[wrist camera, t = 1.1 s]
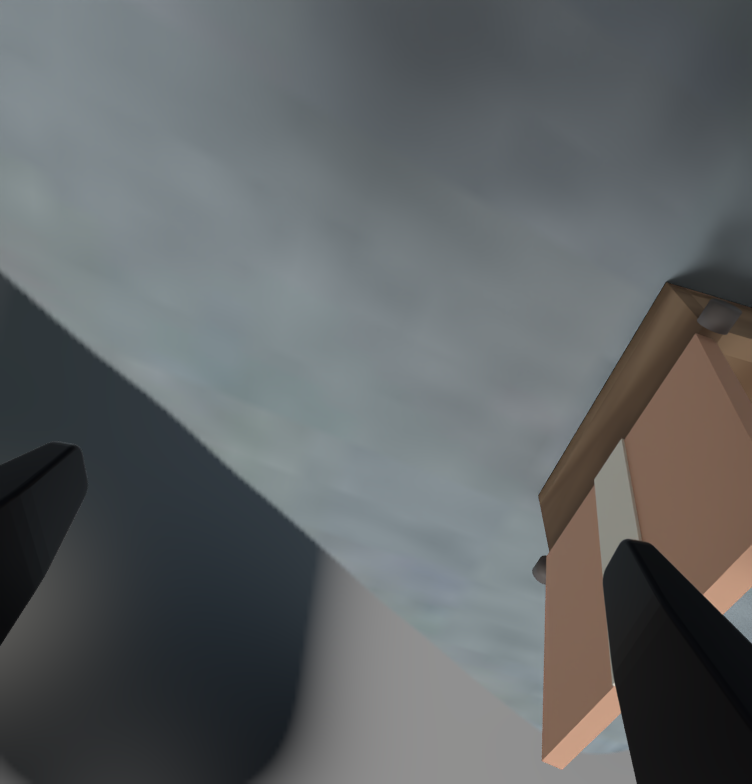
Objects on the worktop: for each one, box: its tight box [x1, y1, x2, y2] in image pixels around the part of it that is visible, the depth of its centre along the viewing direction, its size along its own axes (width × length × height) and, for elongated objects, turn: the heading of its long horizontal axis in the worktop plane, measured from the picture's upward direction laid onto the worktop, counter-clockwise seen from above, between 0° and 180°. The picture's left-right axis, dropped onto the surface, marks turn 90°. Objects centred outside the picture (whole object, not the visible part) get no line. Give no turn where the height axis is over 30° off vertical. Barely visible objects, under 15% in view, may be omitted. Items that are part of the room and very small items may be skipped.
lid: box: [542, 333, 752, 770], centre depth 16 cm, size 8×11×1 cm
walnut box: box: [532, 282, 752, 584], centre depth 21 cm, size 8×13×4 cm
